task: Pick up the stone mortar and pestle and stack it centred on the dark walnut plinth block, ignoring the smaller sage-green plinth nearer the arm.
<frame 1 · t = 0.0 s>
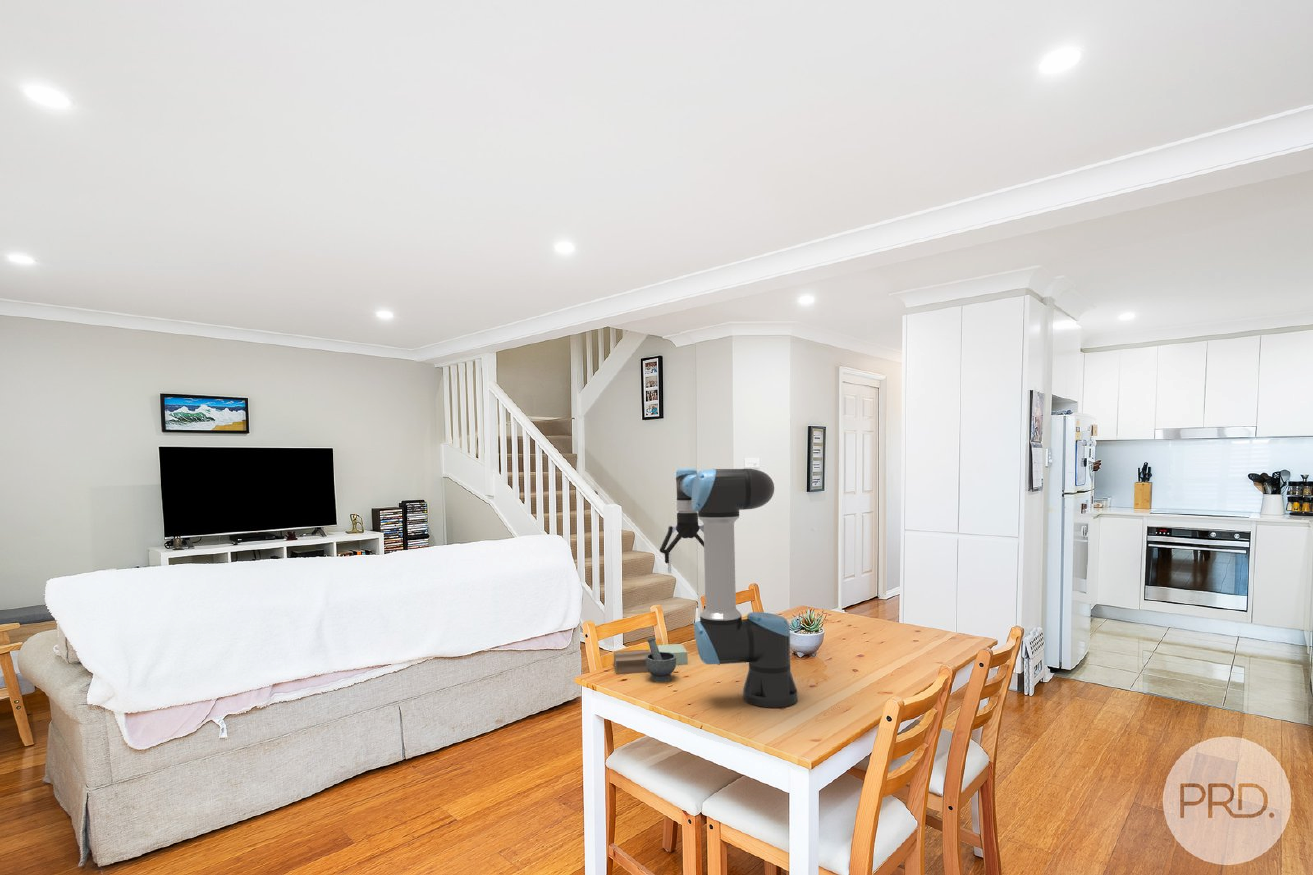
hand: (688, 571, 229), 28 cm above the table, fingers open, 13 cm apart
green plinth: (670, 660, 218), on the table
mortar and pestle: (659, 678, 200), on the table
walnut plinth: (633, 667, 211), on the table
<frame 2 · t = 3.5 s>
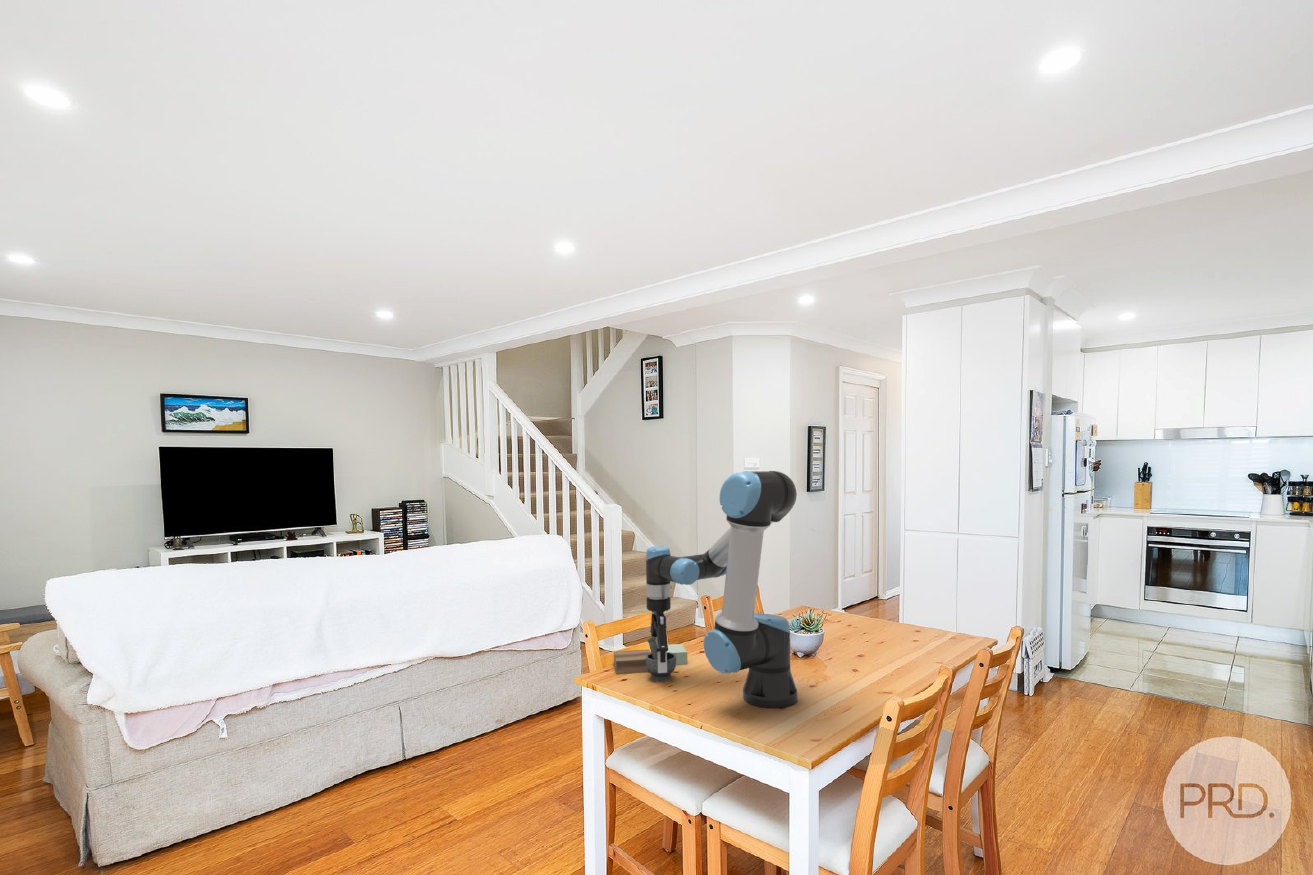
hand: (659, 665, 200), 4 cm above the table, fingers open, 13 cm apart
nothing on the table moved.
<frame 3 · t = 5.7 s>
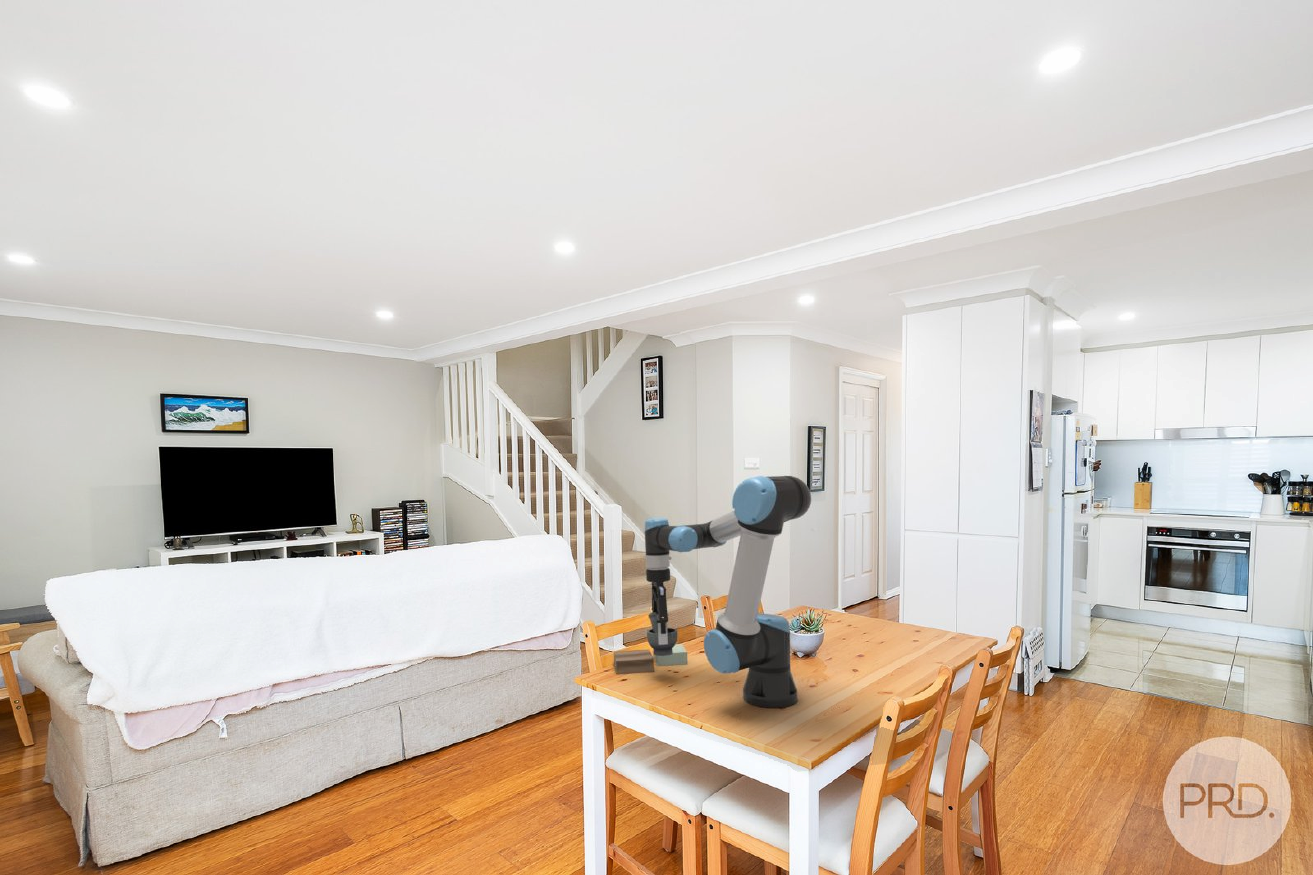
hand: (660, 639, 200), 12 cm above the table, fingers closed on mortar and pestle, 11 cm apart
mortar and pestle: (661, 653, 200), point 8 cm above the table, touching gripper
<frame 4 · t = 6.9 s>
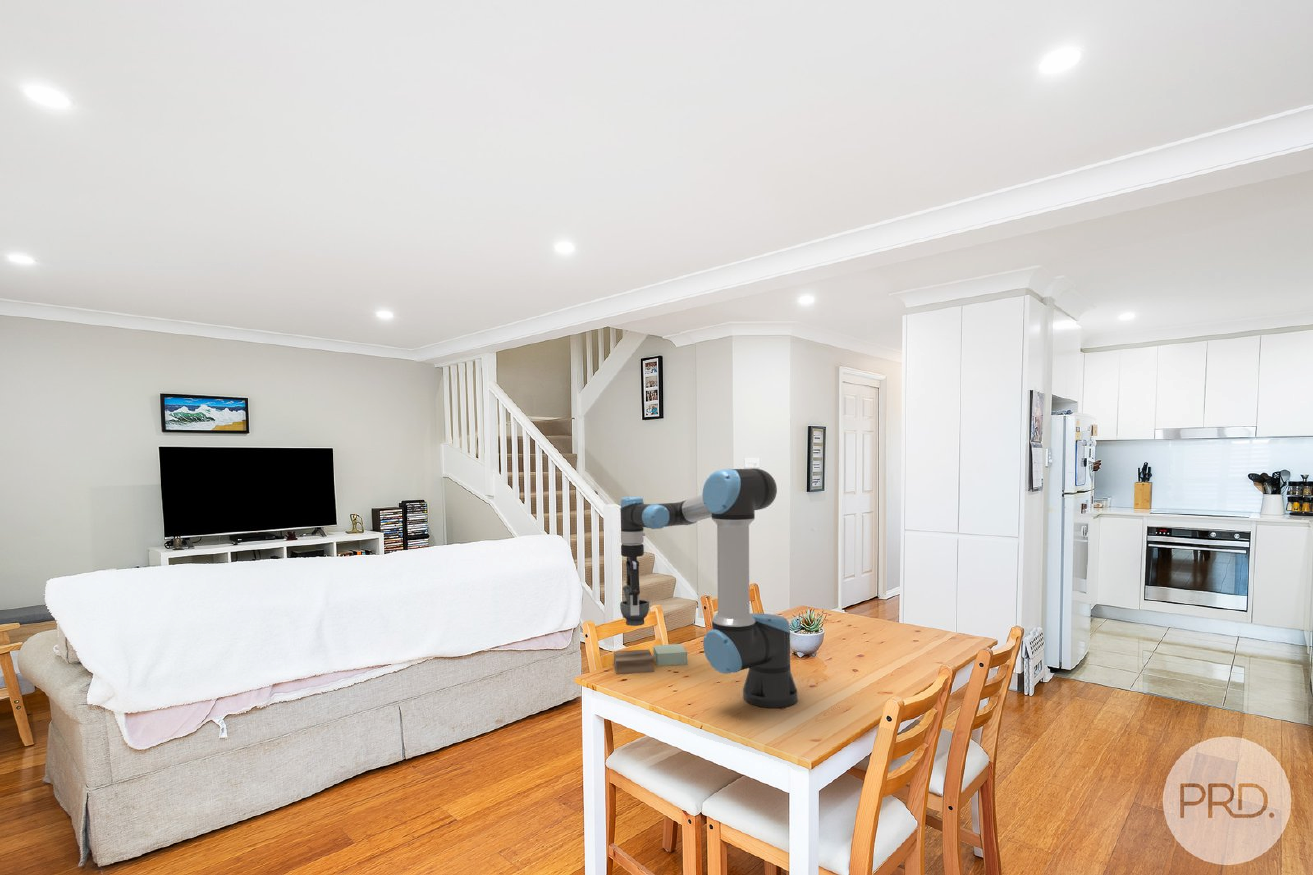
hand: (633, 611, 211), 18 cm above the table, fingers closed on mortar and pestle, 11 cm apart
mortar and pestle: (634, 624, 211), point 14 cm above the table, touching gripper
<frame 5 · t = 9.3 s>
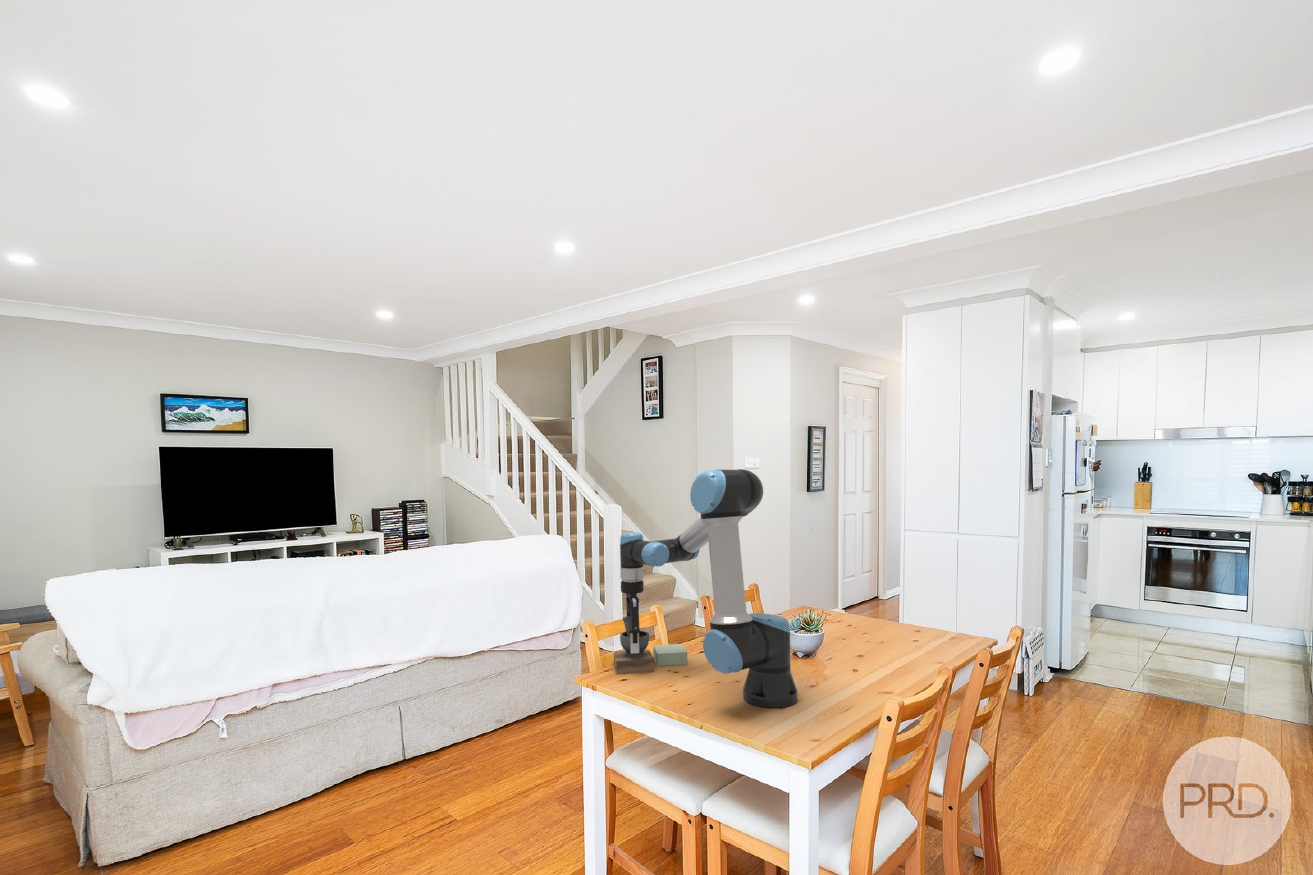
hand: (633, 648, 211), 6 cm above the table, fingers open, 10 cm apart
mortar and pestle: (633, 655, 211), point 4 cm above the table, touching gripper, walnut plinth
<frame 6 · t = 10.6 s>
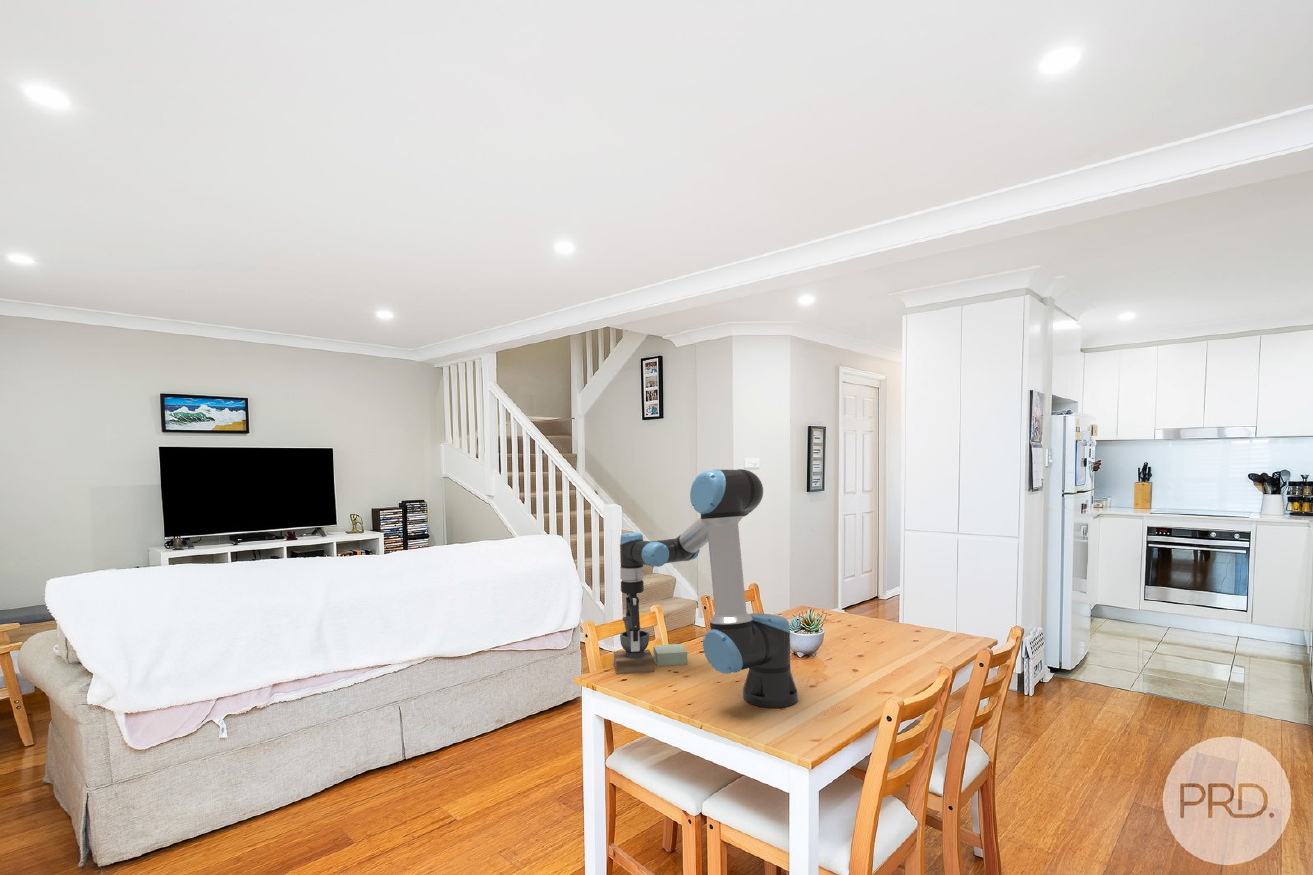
hand: (633, 645, 211), 7 cm above the table, fingers open, 13 cm apart
mortar and pestle: (633, 655, 211), point 4 cm above the table, touching walnut plinth
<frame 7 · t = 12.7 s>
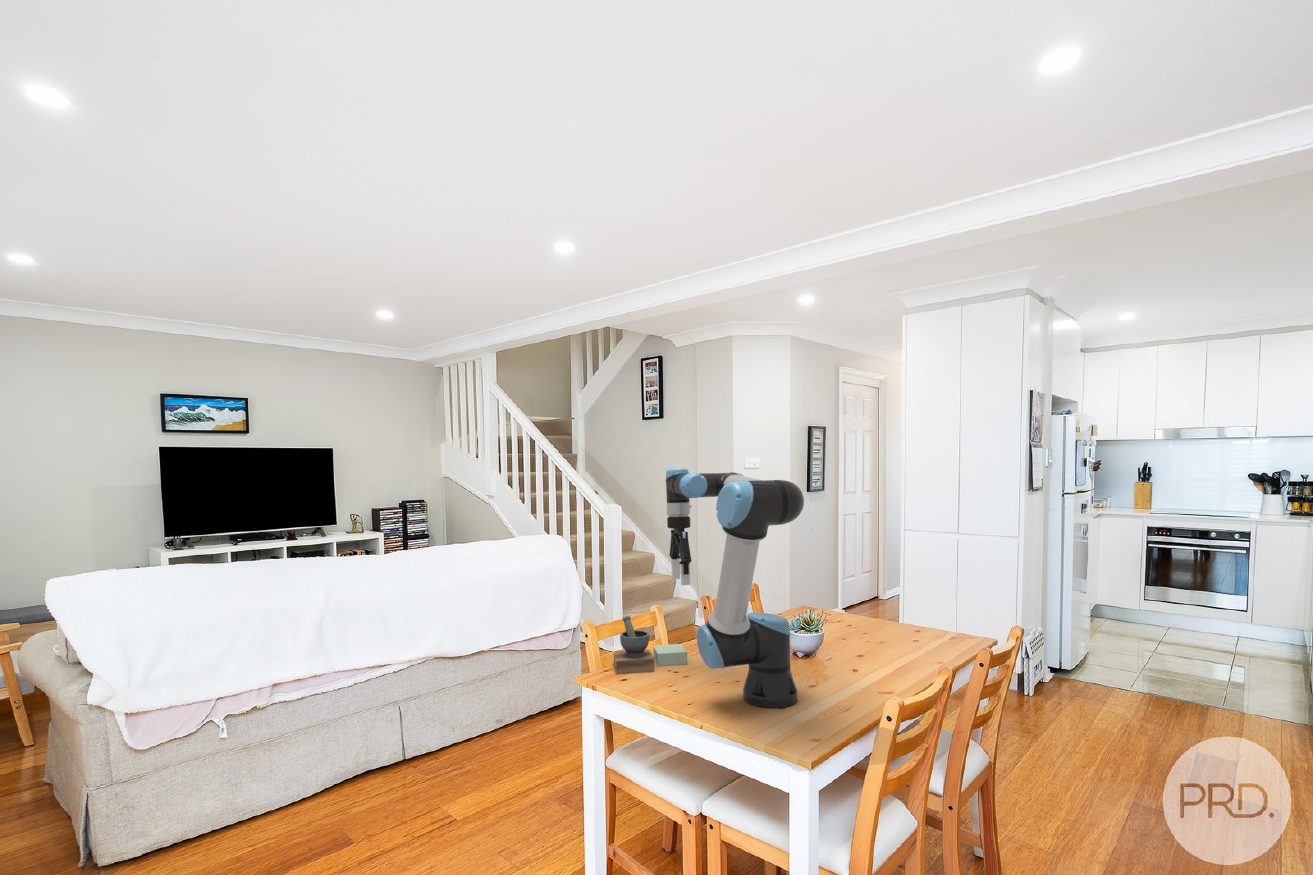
hand: (680, 582, 208), 28 cm above the table, fingers open, 13 cm apart
nothing on the table moved.
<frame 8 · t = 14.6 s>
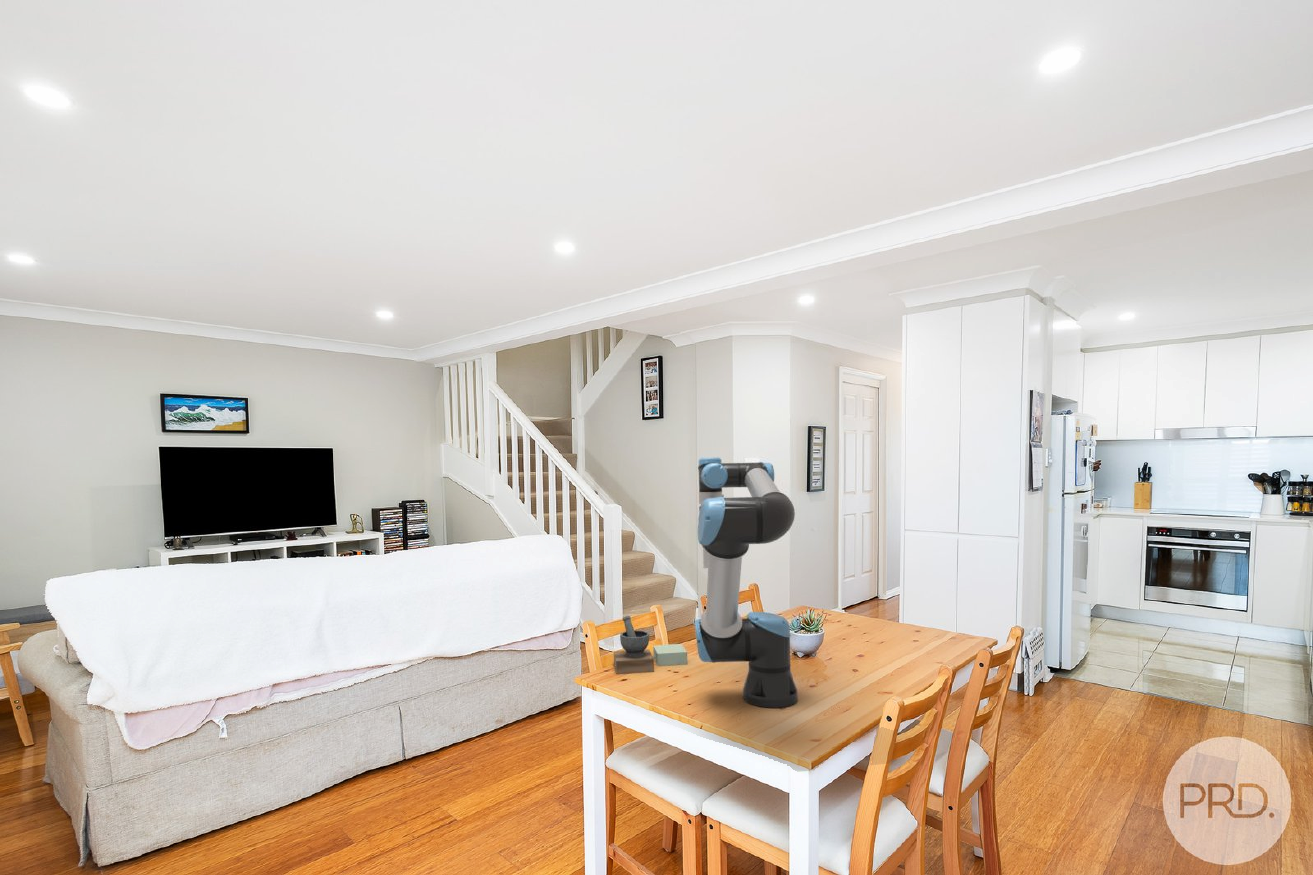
hand: (712, 571, 207), 32 cm above the table, fingers open, 13 cm apart
nothing on the table moved.
at the end: mortar and pestle inside the target area on the walnut plinth (0.4 cm from its centre), point 3.8 cm above the walnut plinth's base; mortar and pestle tilted 0°; the gripper is holding nothing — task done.
